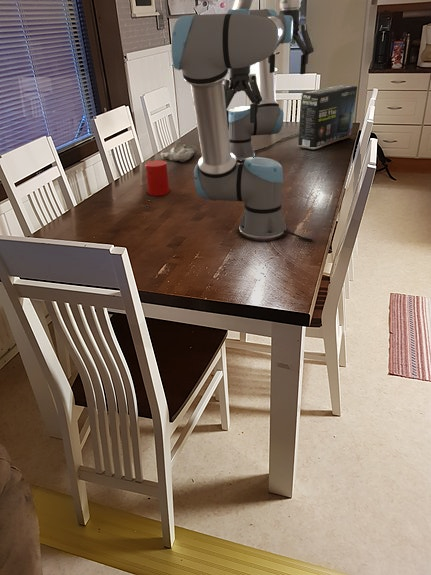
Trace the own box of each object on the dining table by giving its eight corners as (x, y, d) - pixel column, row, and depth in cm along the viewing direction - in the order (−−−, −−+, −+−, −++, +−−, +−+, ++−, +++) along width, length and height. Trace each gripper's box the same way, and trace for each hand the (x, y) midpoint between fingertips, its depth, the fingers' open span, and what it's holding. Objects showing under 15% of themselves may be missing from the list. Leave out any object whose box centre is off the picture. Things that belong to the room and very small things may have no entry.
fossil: (184, 156, 217) (163, 136, 220) (174, 174, 223) (154, 154, 227) (205, 153, 231) (186, 134, 234) (195, 171, 237) (176, 152, 240)
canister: (162, 187, 192) (159, 159, 186) (172, 192, 186) (170, 163, 180) (144, 191, 188) (141, 163, 182) (154, 197, 182) (151, 167, 176)
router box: (314, 151, 231) (318, 94, 217) (296, 148, 237) (299, 92, 224) (352, 138, 251) (358, 85, 238) (335, 135, 258) (340, 83, 245)
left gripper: (255, 10, 172) (254, 73, 183) (316, 8, 158) (311, 75, 169) (266, 10, 177) (265, 71, 188) (325, 8, 163) (320, 73, 174)
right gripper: (257, 57, 165) (257, 118, 177) (203, 64, 152) (206, 130, 164) (272, 58, 160) (271, 121, 172) (218, 66, 147) (220, 134, 159)
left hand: (287, 73), depth 178 cm, fingers open, 13 cm apart
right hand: (239, 126), depth 168 cm, fingers open, 13 cm apart
